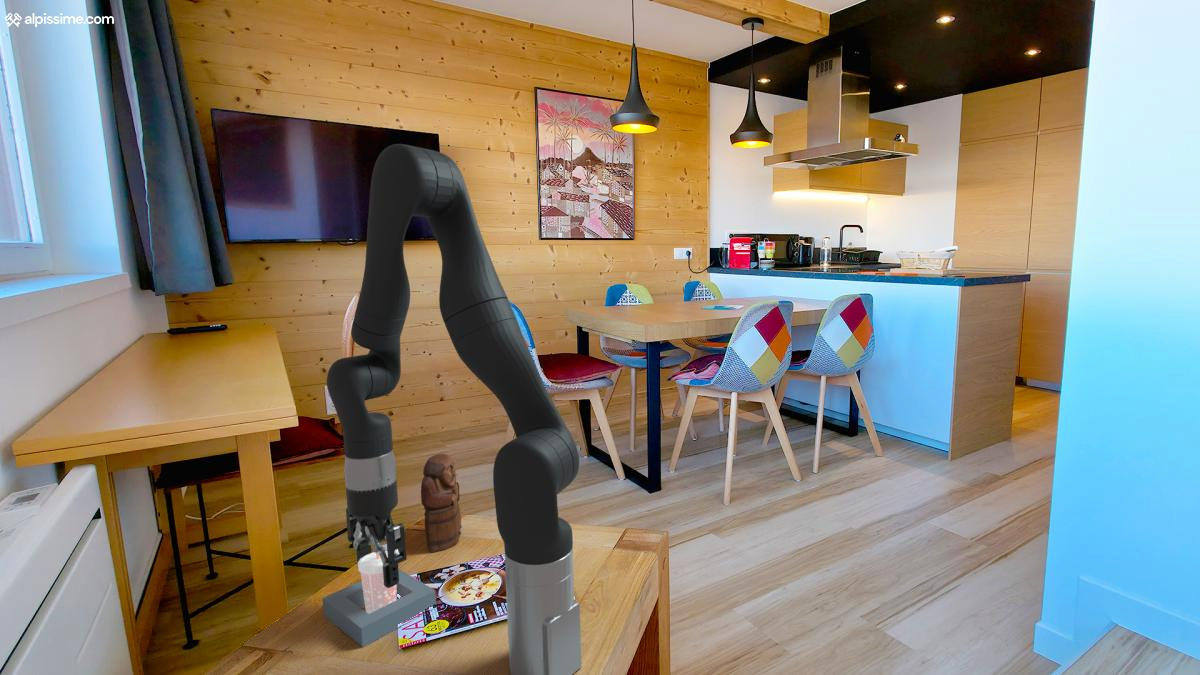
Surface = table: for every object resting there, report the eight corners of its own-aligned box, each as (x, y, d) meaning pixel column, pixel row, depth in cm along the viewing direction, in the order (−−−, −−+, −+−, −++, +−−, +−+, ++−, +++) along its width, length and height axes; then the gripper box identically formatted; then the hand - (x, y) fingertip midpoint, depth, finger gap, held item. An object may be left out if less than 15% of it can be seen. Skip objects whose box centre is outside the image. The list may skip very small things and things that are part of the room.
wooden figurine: (455, 552, 111) (450, 464, 109) (422, 554, 111) (416, 465, 109) (465, 525, 123) (461, 445, 121) (435, 527, 123) (431, 446, 121)
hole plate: (436, 607, 93) (435, 590, 93) (362, 647, 84) (361, 628, 83) (395, 581, 101) (394, 565, 101) (323, 615, 92) (322, 598, 91)
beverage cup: (408, 602, 95) (403, 522, 93) (389, 625, 89) (384, 540, 87) (374, 600, 96) (368, 520, 94) (353, 622, 90) (347, 538, 88)
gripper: (417, 482, 88) (423, 581, 90) (370, 464, 97) (377, 554, 99) (371, 498, 82) (379, 603, 84) (326, 476, 91) (334, 572, 93)
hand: (378, 576), depth 92 cm, fingers open, 8 cm apart
